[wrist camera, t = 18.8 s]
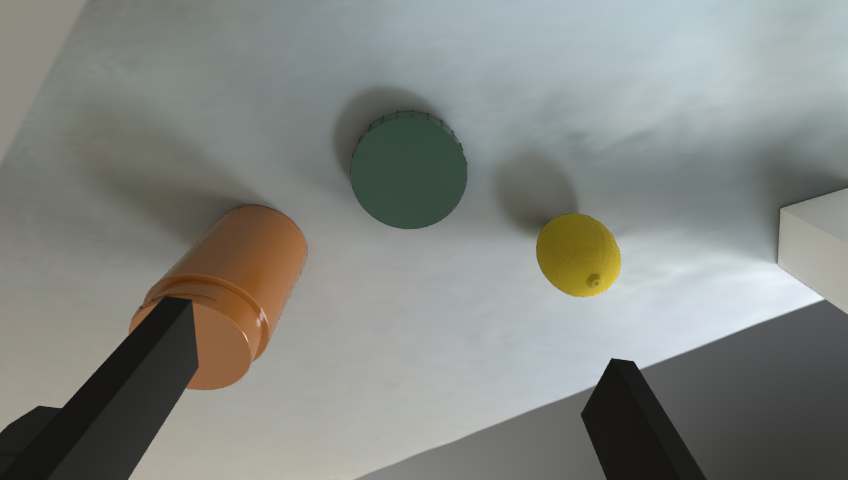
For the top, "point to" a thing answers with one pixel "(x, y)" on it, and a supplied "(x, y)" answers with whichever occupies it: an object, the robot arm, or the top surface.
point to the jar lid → (408, 170)
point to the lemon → (578, 255)
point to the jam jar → (234, 290)
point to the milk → (817, 245)
